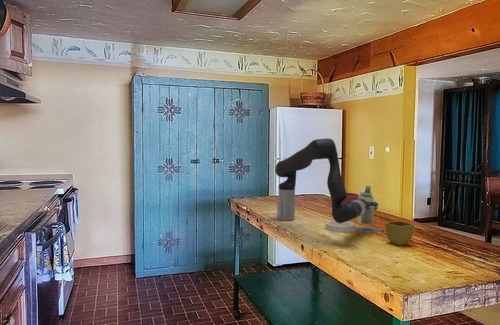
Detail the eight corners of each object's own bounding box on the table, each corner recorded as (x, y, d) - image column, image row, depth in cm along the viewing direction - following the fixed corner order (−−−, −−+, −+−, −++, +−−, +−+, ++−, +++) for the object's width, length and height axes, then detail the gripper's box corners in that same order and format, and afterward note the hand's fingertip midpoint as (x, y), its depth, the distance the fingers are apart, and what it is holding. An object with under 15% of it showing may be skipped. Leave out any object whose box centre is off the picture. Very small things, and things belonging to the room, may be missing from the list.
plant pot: (356, 212, 235) (357, 192, 234) (361, 217, 221) (361, 195, 220) (333, 212, 236) (333, 192, 236) (336, 216, 222) (336, 195, 222)
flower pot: (399, 247, 159) (400, 226, 159) (383, 242, 167) (384, 222, 167) (414, 244, 163) (414, 224, 163) (397, 240, 171) (398, 220, 171)
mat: (363, 233, 183) (363, 232, 183) (351, 228, 193) (351, 227, 193) (383, 232, 186) (383, 231, 186) (370, 227, 196) (370, 226, 196)
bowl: (334, 233, 182) (334, 227, 182) (321, 227, 196) (321, 221, 196) (361, 231, 186) (361, 225, 186) (346, 225, 200) (346, 219, 200)
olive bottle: (364, 223, 186) (366, 186, 185) (358, 221, 192) (360, 185, 190) (374, 223, 188) (376, 186, 186) (368, 221, 193) (370, 185, 192)
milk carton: (372, 222, 209) (373, 187, 208) (371, 224, 202) (372, 189, 201) (359, 220, 212) (360, 187, 211) (357, 223, 205) (358, 188, 204)
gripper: (373, 201, 173) (383, 197, 187) (343, 198, 181) (355, 194, 195) (372, 217, 173) (383, 212, 187) (342, 213, 182) (354, 208, 195)
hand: (368, 202), depth 191 cm, fingers closed on olive bottle, 5 cm apart
